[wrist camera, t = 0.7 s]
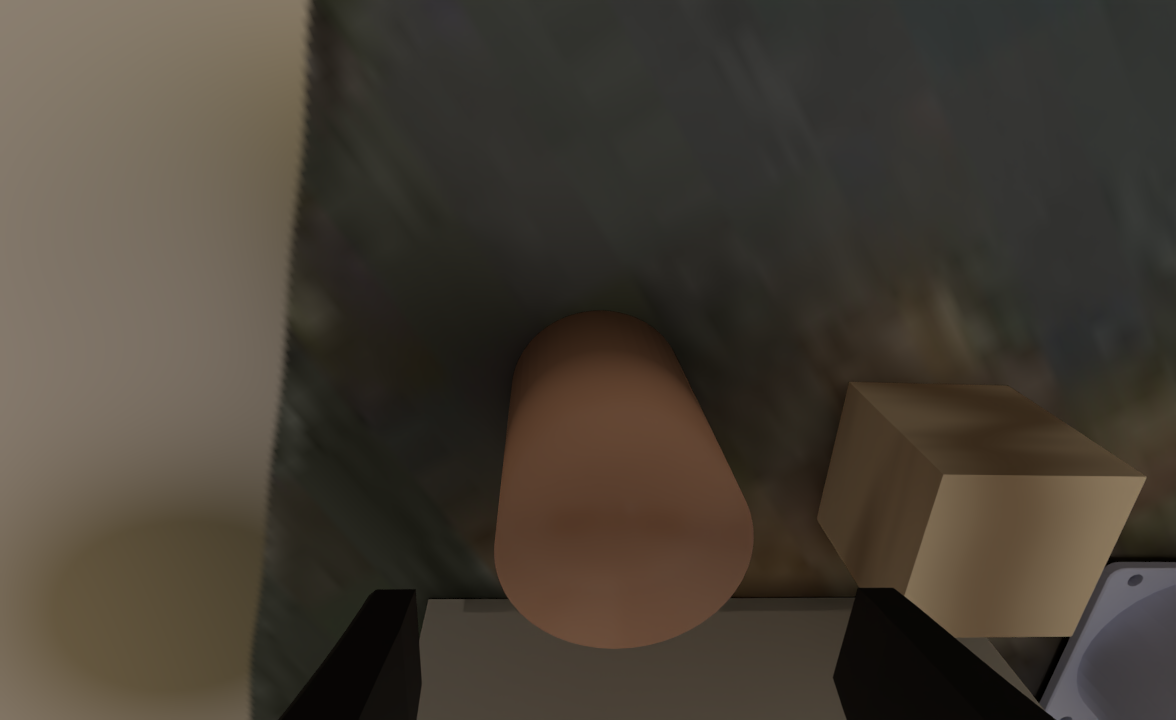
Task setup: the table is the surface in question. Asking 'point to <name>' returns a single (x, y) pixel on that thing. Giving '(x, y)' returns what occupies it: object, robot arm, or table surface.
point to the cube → (973, 506)
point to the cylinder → (614, 490)
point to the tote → (644, 666)
